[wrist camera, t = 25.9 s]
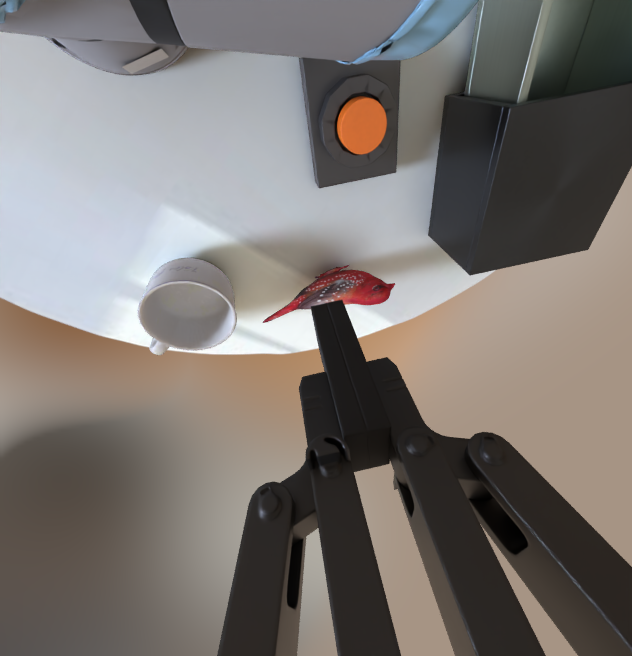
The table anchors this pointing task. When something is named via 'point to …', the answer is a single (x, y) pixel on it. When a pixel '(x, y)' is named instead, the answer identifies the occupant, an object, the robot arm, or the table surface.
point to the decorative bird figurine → (339, 290)
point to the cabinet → (528, 175)
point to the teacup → (187, 306)
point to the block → (324, 108)
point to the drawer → (548, 48)
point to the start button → (361, 124)
